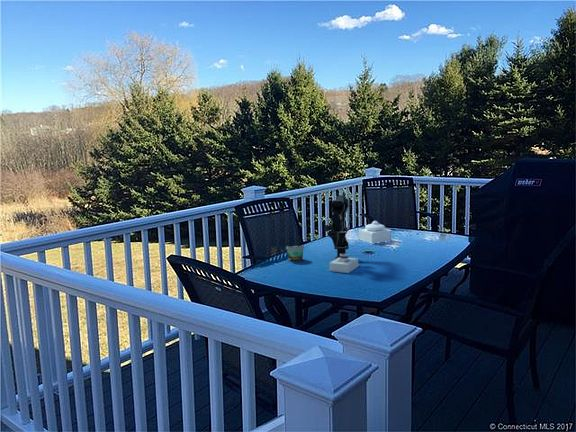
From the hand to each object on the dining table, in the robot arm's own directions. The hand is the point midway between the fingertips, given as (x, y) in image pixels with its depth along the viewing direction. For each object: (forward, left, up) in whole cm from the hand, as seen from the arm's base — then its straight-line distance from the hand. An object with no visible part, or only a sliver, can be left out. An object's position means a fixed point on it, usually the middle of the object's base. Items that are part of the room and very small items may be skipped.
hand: (338, 244), depth 295 cm
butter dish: (-72, -1, -12) cm, 73 cm away
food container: (+4, -28, -12) cm, 31 cm away
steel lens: (+10, +8, -10) cm, 16 cm away
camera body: (+10, +8, -12) cm, 18 cm away
